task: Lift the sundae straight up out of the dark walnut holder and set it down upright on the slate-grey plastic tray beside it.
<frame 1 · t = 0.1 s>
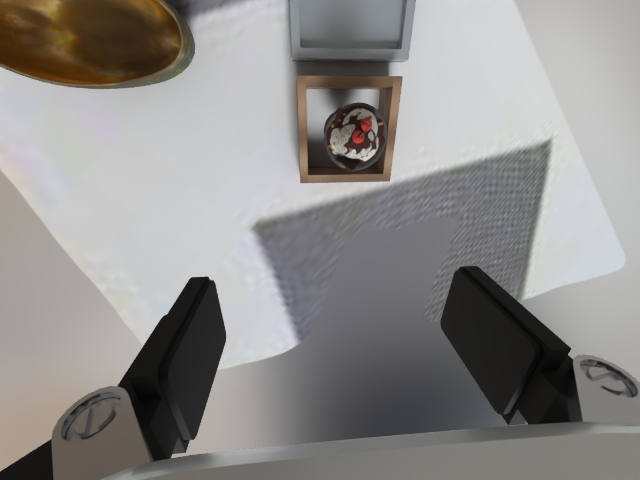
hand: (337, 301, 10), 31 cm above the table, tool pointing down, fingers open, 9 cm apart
holder: (341, 130, 36), on the table
sundae: (341, 130, 36), resting in holder
green bowl: (113, 38, 30), on the table
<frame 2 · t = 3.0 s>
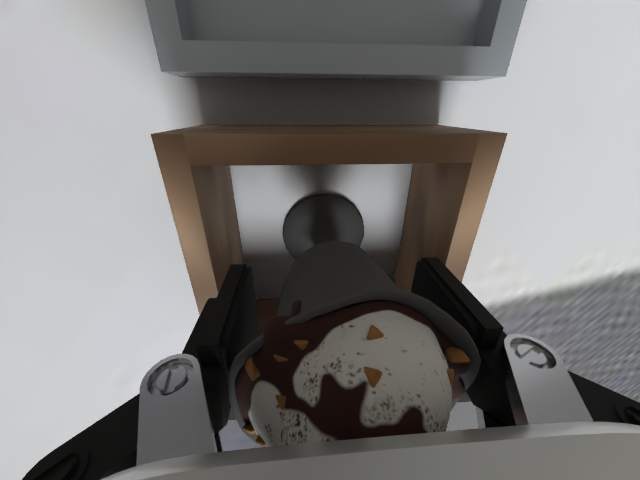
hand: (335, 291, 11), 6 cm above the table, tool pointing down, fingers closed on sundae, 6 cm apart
holder: (323, 232, 16), on the table
sundae: (322, 231, 16), resting in holder, touching gripper
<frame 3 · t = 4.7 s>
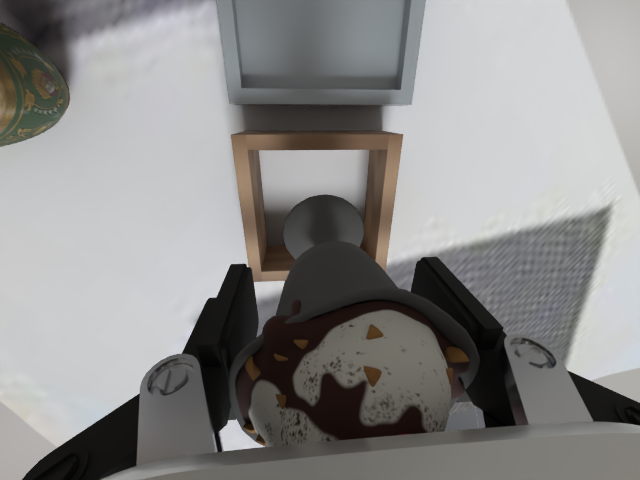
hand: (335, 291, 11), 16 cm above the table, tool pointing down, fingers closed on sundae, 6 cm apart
holder: (315, 198, 25), on the table
sundae: (322, 231, 16), point 10 cm above the table, touching gripper
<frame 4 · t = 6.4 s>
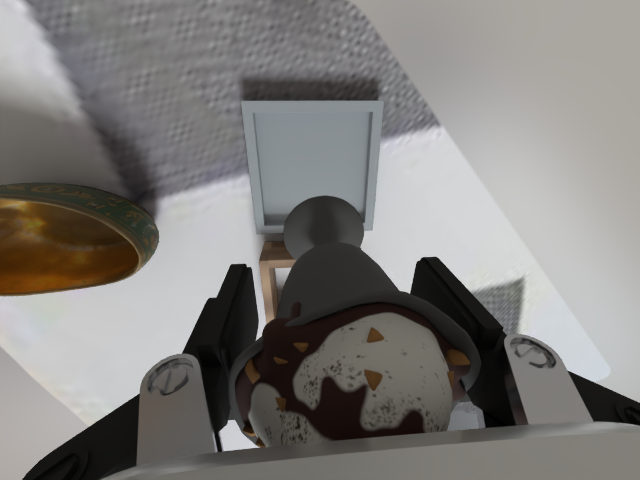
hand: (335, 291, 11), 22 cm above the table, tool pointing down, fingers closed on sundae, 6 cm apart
holder: (311, 278, 36), on the table
sundae: (323, 232, 16), point 16 cm above the table, touching gripper
tray: (313, 170, 30), on the table
green bowl: (83, 216, 31), on the table
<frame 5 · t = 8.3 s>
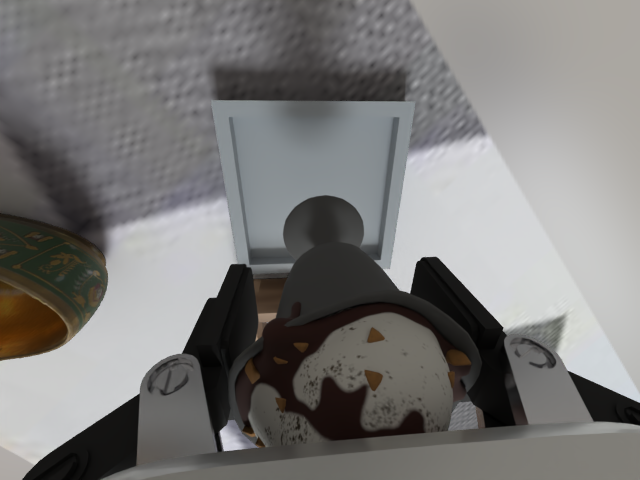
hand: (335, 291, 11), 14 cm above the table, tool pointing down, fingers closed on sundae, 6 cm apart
holder: (310, 320, 30), on the table
sundae: (323, 231, 16), point 8 cm above the table, touching gripper
tray: (314, 192, 23), on the table
green bowl: (8, 251, 23), on the table
when the fingers open (8 cm above the table, at t = 9.9 s): sundae drops 2 cm, resting on tray.
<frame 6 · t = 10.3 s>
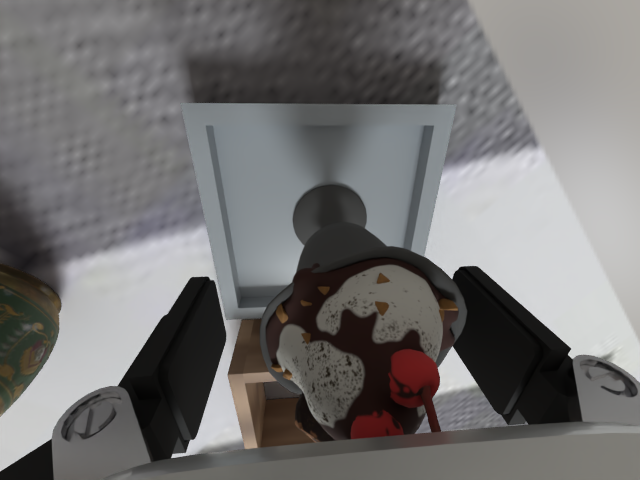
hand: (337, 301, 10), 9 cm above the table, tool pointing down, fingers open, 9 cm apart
holder: (314, 364, 25), on the table
sundae: (329, 219, 17), point 1 cm above the table, touching tray
tray: (320, 217, 18), on the table
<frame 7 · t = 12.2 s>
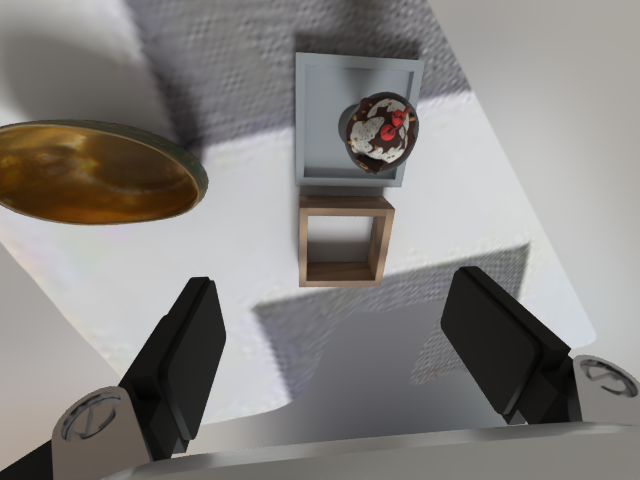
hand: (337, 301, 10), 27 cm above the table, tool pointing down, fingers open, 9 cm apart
holder: (338, 234, 39), on the table
sundae: (357, 126, 32), point 1 cm above the table, touching tray
tray: (351, 126, 32), on the table
green bowl: (132, 161, 33), on the table
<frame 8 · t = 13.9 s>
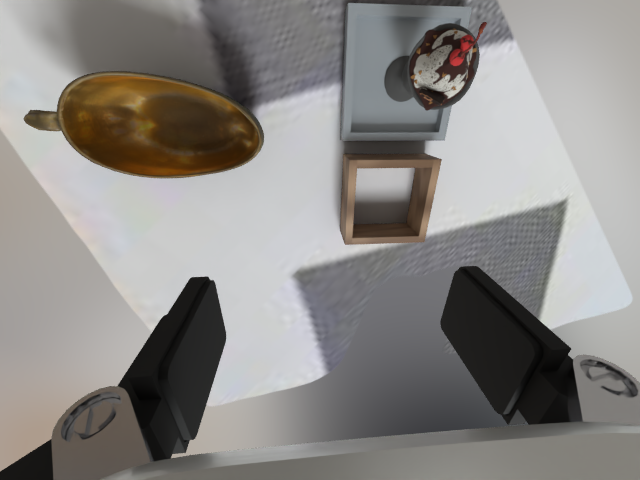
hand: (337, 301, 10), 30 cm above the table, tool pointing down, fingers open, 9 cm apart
holder: (380, 194, 40), on the table
sundae: (402, 79, 33), point 1 cm above the table, touching tray
tray: (396, 81, 33), on the table
green bowl: (186, 123, 34), on the table
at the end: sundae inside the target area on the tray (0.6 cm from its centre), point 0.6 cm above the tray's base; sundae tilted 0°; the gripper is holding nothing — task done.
